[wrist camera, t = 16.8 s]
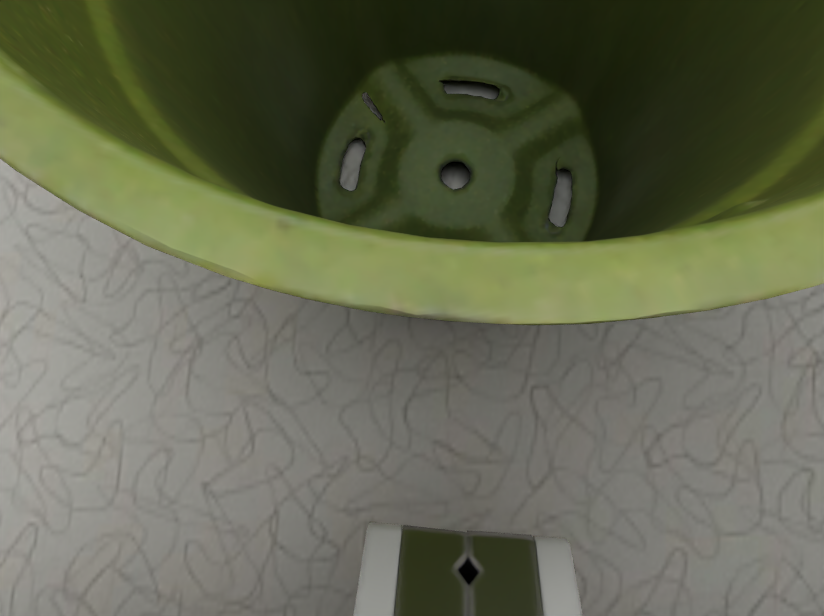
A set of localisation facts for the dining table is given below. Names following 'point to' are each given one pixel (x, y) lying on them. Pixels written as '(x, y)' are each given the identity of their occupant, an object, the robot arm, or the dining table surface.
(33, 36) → the plant pot
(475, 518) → the dining table surface
